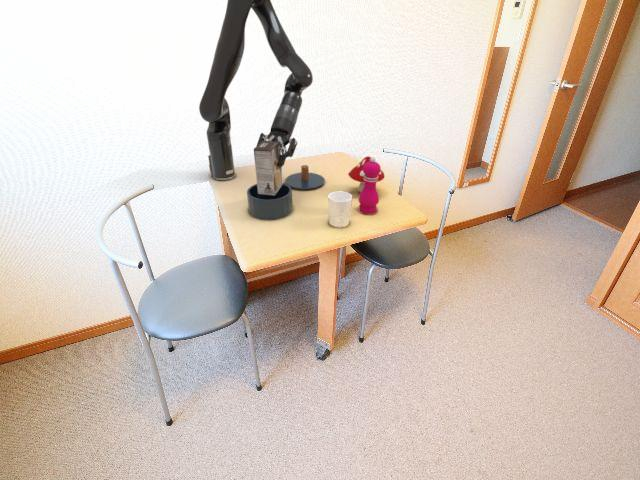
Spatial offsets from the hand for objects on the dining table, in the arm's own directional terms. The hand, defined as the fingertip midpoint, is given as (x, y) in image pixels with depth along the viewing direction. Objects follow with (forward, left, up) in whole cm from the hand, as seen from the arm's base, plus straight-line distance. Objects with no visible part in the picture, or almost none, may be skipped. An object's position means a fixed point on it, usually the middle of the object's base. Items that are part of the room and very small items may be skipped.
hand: (269, 164), depth 121 cm
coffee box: (0, -1, -9) cm, 9 cm away
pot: (0, -1, -17) cm, 17 cm away
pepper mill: (+32, +14, -17) cm, 39 cm away
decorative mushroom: (+26, +28, -17) cm, 42 cm away
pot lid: (0, +26, -16) cm, 31 cm away
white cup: (+26, +1, -17) cm, 31 cm away
